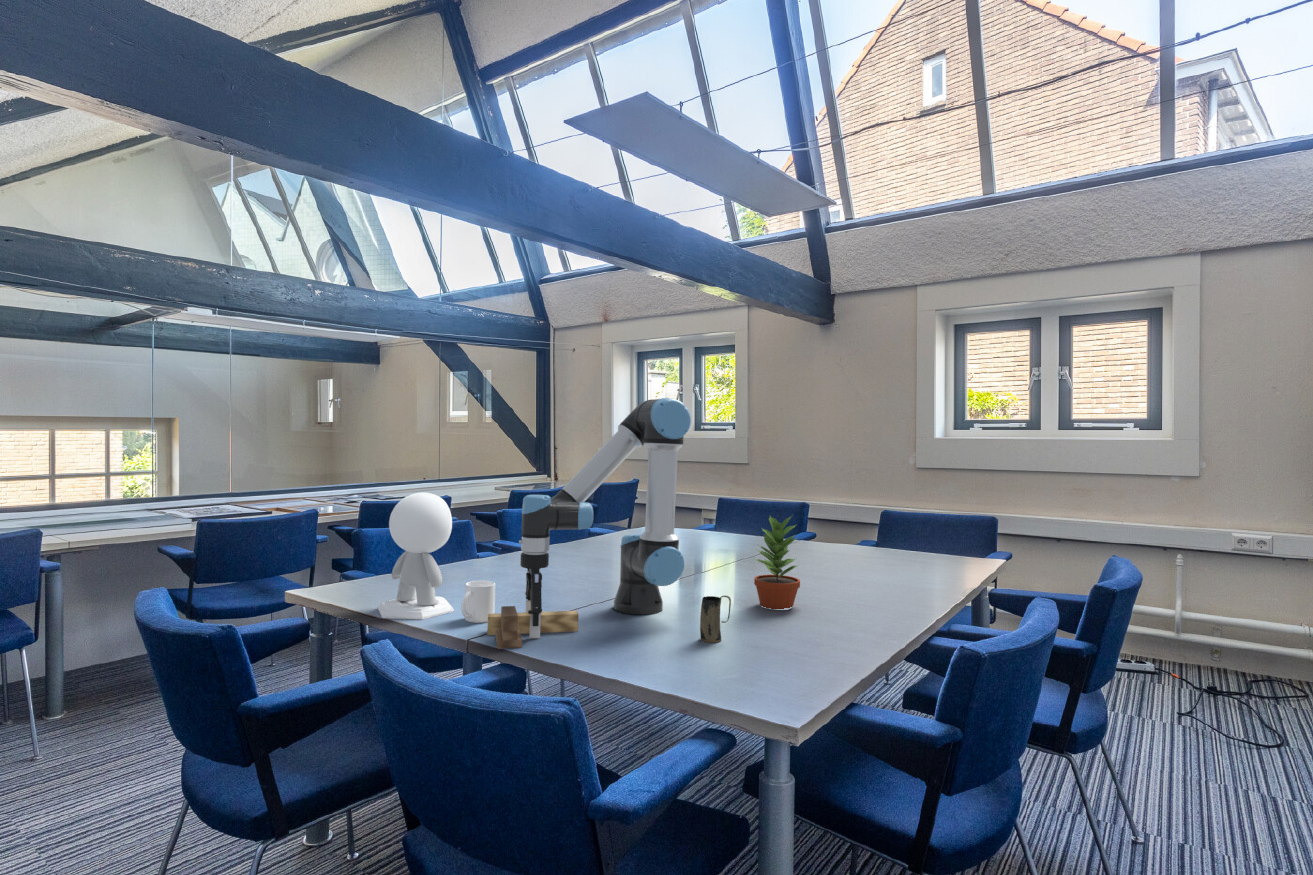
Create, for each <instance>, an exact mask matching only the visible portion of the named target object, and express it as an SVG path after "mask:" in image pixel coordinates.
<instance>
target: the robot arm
mask: <svg viewBox="0 0 1313 875" xmlns="http://www.w3.org/2000/svg"><path fill="white" fill-rule="evenodd" d="M691 419H692V417H691V414H690V411H689V409H688V407H687V406H686V405H685V404H684V403H683V402H682V401H680V400H678V399H675V398H669V397H665V398H663V397H662V398H656V399H653V398H652V399H648V400H645V401H643V402H641V403H640V404H638V405H637V406H636V407H635V408H634V409H633V410H632V411H630V413H629V414H627V416H626V417H625V418H624V419H623V421H622V422H620V424H619V425H617V431H616V432H615V433H614V434H613V436H611V438H610V439H609V440H607V442H606V443H605V444H604V445H603V446H602V447H601V448H600V449H599V450H598V451H597V452H596V453H595V454H594V455H593V456H592V457H591V458H590V459H589V460H588V462H586V463H585V465H584V466H582V467H581V469H579V471H578V472H577V473H576V474H575V475H574V476H573V477H572V478H571V479H570V480H569V481H568V482H567V483H566V484H565V486H563V488H561V489H560V490H559V491H558V492H557V493H556V494H555V495H554V496H550V495H548V494H527V495H525V496H524V497H523V499H522V508H521V539H520V540H518V543H519V544H521V545H520V550H521V553H520V567H521V568H524V569H527V571H526V574H525V576H526V577H525V578H526V580H525V582H526V584H525V593H524V595H525V599H526V600H525V612H528V614H530V632H529V633H528V634H529V636H528V637H529V639H540V638H541V633H540V624H541V613H542V612H543V609H542V606H543V605H542V601H543V600H542V587H543V586H542V583H543V582H542V580H543V574H542V572H541V571H540V570H541V569H546V568H548V567H549V565H550V564H549V558H550V554H549V551H550V538H551V536H550V531H556V530H561V531H562V530H578V531H580V530H586V529H590V528H591V527H592V526H593V522H594V517H595V516H594V508H593V505H592V504H591V503H590V502H588V501H587V500H588V498H590V497H591V495H592V494H593V493H594V492H595V491H596V490H597V489H598V488H599V487H600V486H601V485H602V484H603V483H604V482H605V481H606V480H607V479H608V478H609V477H610V476H611V474H613V472H615V470H616V469H617V468H618V467H619V466H620V465H621V464H622V463H623V462H624V461H625V460H626V459H627V458H628V457H629V456H630V455H631V453H632V452H634V451H635V449H640V448H642V447H643V446H645V447H646V448H647V449H648V452H647V454H648V456H647V457H648V459H647V476H646V478H647V480H646V496H645V497H646V501H645V521H644V522H645V523H644V524H645V525H644V531H643V533H641V534H627V535H626V534H625V535H623V536H622V537H621V543H620V545H619V546H620V547H619V548H620V576H619V577H620V579H619V580H620V581H619V585H618V589H617V592H616V593H615V598H614V600H613V609H614V610H615V611H617V612H620V613H622V614H628V615H629V614H630V615H648V614H649V615H650V614H656V613H660V612H661V611H663V608H664V606H663V604H664V602H663V599H662V595H661V592H660V588H659V587H667V586H671V585H673V584H674V583H675V582H676V581H677V580H678V579H680V578H681V576H682V575H683V572H684V570H685V558H684V556H683V554H682V552H681V551H680V550H679V547H680V546H679V545H680V544H679V543H680V537H679V536H677V534H676V532H675V522H676V521H675V518H676V517H675V516H676V501H677V500H676V498H677V497H676V496H677V477H678V476H677V475H678V456H679V454H678V453H679V450H680V449H681V448H682V447H683V446H684V440H685V439H684V438H685V437H684V436H685V435H686V434H687V433H688V431H690V427H691V422H692V420H691ZM586 501H587V502H586Z"/></svg>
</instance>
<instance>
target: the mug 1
mask: <svg viewBox="0 0 1313 875" xmlns="http://www.w3.org/2000/svg"><path fill="white" fill-rule="evenodd" d="M464 586H465V587H464V588H465V590H464V592H465V593H464V595H463V598H462V601H461V608H460V609H461V614H462V615H463V617H464V620H465V621H466V622H468V623H471V624H472V623H473V624H481V623H483V624H484V623H488V614H495V612H496V611H495V610H496V609H495V608H496V607H495V606H496V605H495V604H496V583H495V581H492V580H472V581H468V582H466V583H465V584H464Z"/></svg>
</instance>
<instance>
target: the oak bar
mask: <svg viewBox="0 0 1313 875" xmlns="http://www.w3.org/2000/svg"><path fill="white" fill-rule="evenodd" d="M517 615H518V623H517V629H520V633H521V635H522V634H529V632H530V614H528V612H526V611H525V612H517ZM498 629H501V612H499V613H498V612H497V613H494V614H488V622H487V636H496V630H498ZM578 631H579V612H578V611H577V610H559V611H557V610H556V611H542V613H541V624H540V634H545V633H561V632H562V633H565V632H568V633H570V632H578Z"/></svg>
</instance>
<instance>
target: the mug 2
mask: <svg viewBox="0 0 1313 875" xmlns="http://www.w3.org/2000/svg"><path fill="white" fill-rule="evenodd" d="M723 598H727V599H728V601H729V604H728V615H727V616H728V617H727V620H725V621H724V620H723V621H722V620H721V605H722V599H723ZM700 606H701V608H700V615H699V616H700V617H699V618H700V621H699V622H700V623H699V634H700V639H701V640H702V641H701V640H700V641H701V642H703V641H704V642H703V643H706V642H708V643H707V644H717V643H716V642H718V643H721V642H722V636H721V635H722V633H721V623H727V622H729V619H730V616H731V606H732V600H731V597H730V596H729V595H722V596H720V597H719V596H711V595H710V596H708V595H707V596H703V597H702V599H701V605H700ZM720 641H721V642H720Z"/></svg>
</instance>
